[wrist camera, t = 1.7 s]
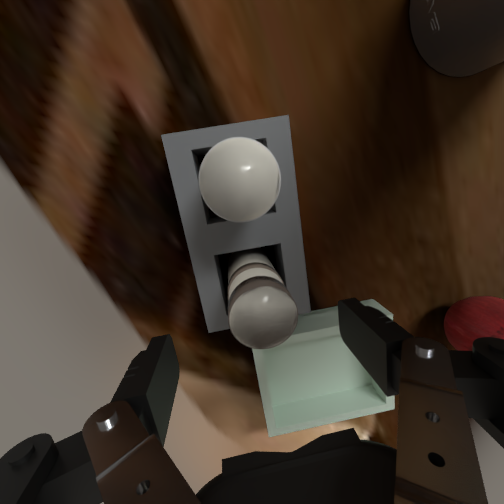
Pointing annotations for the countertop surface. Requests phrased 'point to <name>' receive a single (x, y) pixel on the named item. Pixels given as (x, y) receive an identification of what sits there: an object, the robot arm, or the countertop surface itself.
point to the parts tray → (316, 377)
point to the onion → (474, 321)
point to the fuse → (239, 179)
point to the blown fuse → (258, 301)
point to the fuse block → (237, 233)
